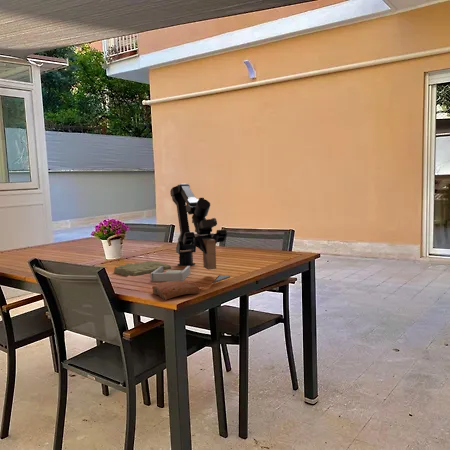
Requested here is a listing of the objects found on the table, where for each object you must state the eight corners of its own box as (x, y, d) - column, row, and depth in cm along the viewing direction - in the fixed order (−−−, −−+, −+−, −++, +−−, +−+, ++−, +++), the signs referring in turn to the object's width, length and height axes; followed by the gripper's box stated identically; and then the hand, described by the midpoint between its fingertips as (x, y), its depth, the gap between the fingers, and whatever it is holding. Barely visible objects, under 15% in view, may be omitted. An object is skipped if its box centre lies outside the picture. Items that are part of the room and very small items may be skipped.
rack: (160, 275, 196) (160, 266, 195) (190, 274, 194) (190, 265, 194) (150, 283, 181) (150, 273, 180) (182, 283, 179) (182, 273, 179)
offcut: (168, 273, 194) (167, 270, 194) (182, 273, 193) (182, 270, 193) (164, 276, 190) (164, 272, 190) (179, 276, 189) (179, 272, 189)
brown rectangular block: (203, 267, 188) (202, 239, 186) (211, 266, 189) (210, 238, 188) (208, 269, 182) (207, 240, 181) (216, 268, 183) (215, 240, 182)
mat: (208, 274, 194) (208, 273, 194) (230, 277, 187) (230, 276, 187) (190, 279, 185) (190, 278, 185) (212, 282, 177) (212, 281, 177)
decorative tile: (171, 271, 206) (171, 263, 206) (134, 279, 192) (134, 271, 192) (148, 266, 220) (148, 259, 219) (112, 273, 206) (112, 266, 205)
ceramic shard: (181, 273, 173) (201, 286, 161) (178, 289, 174) (198, 302, 162) (147, 274, 165) (165, 287, 153) (144, 291, 165) (163, 305, 154)
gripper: (183, 213, 183) (192, 243, 174) (225, 210, 190) (236, 239, 181) (178, 230, 191) (187, 259, 182) (219, 227, 198) (229, 255, 189)
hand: (210, 253), depth 184 cm, fingers closed on brown rectangular block, 3 cm apart
